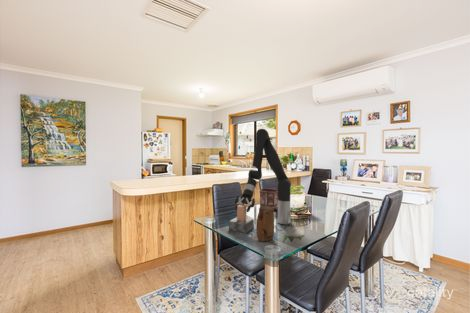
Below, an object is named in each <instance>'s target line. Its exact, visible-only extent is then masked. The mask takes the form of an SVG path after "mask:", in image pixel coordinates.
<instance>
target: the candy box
mask: <svg viewBox="0 0 470 313" xmlns="http://www.w3.org/2000/svg"><path fill="white" fill-rule="evenodd" d="M304 195H305V203H304V204H305V206H307V207H308V208H309V212H310V213H311V215H312V210H313V209H312V197H313V196H312V195H311V194H304Z"/></svg>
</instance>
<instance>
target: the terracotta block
mask: <svg viewBox="0 0 470 313" xmlns="http://www.w3.org/2000/svg"><path fill="white" fill-rule="evenodd" d="M247 208H248V206H247V204H241V205H238V206H237V210H236V217H237V220H239V221H245V220H246V218H247Z"/></svg>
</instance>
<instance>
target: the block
mask: <svg viewBox="0 0 470 313" xmlns="http://www.w3.org/2000/svg"><path fill="white" fill-rule="evenodd" d="M258 209H259V211H258V214H257V217H256V228H255V229H256V234H255V235H256V238H257V240H258V241H259V242H268V241H271V240H273V239H274V237H275V236H274V234H275V213H274V212H275V210H274V209H273V208H271V207H269V206H262V207H261V206H260V207H259V208H258Z"/></svg>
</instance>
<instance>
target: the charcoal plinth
mask: <svg viewBox="0 0 470 313" xmlns="http://www.w3.org/2000/svg"><path fill="white" fill-rule="evenodd" d="M254 227H255V220H254V219H253V218H251V217H250V218H249V217H246V220H245V221H239V220H237V216H235V217H234V218H232V219H230V220H229V222H228V230H229V231H234V232H240V233H243V234H247V233H249V231H251V230H252V229H254Z"/></svg>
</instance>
